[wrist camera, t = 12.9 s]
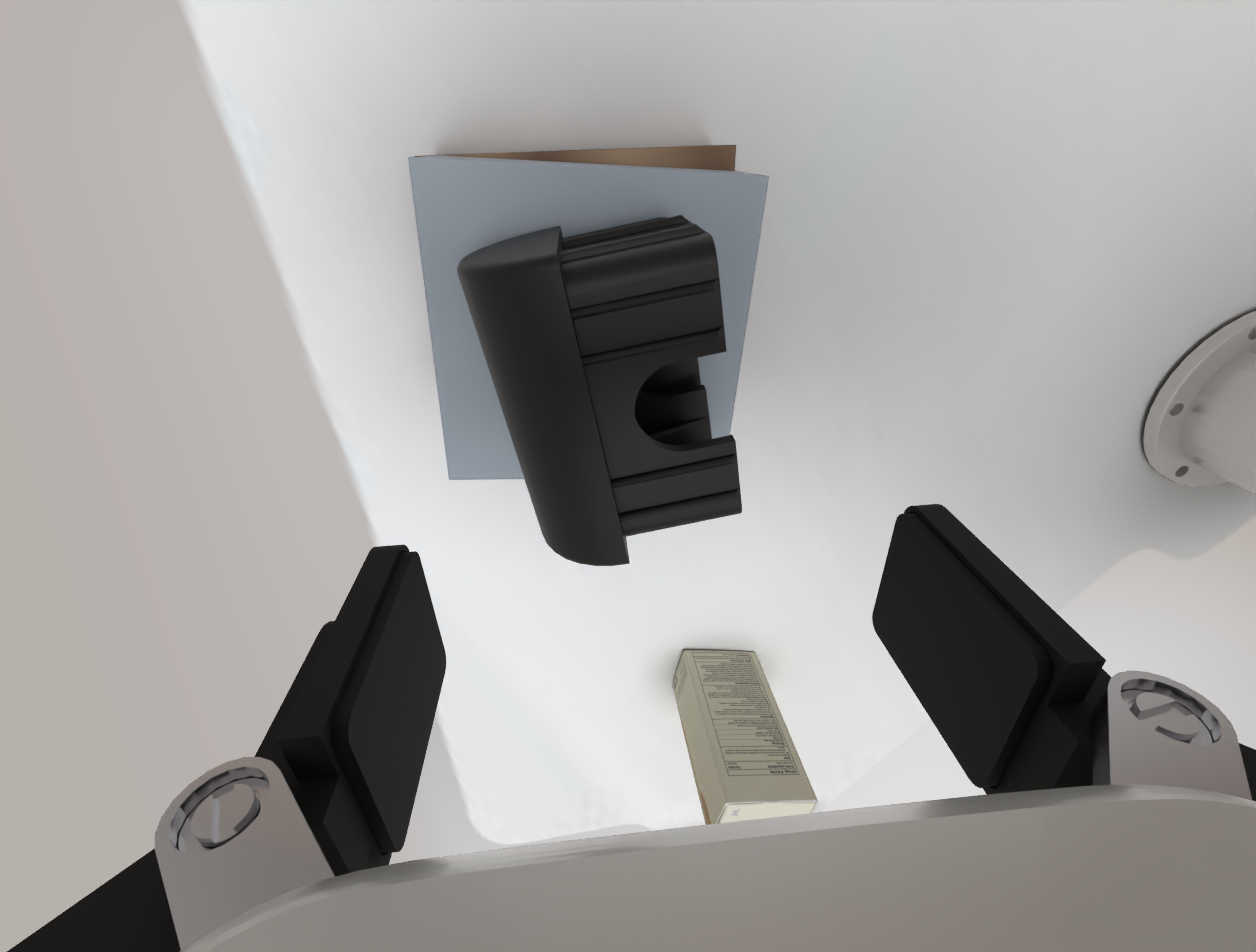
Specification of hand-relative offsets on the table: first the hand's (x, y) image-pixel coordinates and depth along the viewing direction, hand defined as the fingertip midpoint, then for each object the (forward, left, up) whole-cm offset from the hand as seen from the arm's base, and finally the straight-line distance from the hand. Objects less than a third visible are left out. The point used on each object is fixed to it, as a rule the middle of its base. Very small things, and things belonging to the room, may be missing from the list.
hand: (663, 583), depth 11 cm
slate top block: (+1, -1, -18) cm, 18 cm away
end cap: (0, 0, -13) cm, 13 cm away
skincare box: (-8, +29, -23) cm, 38 cm away
